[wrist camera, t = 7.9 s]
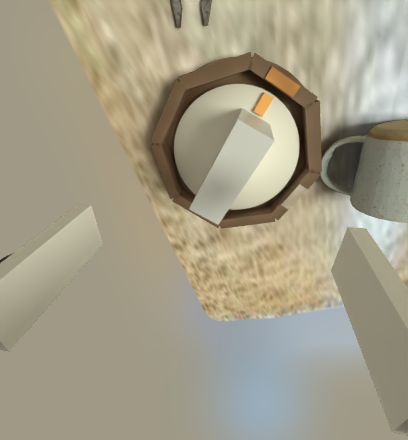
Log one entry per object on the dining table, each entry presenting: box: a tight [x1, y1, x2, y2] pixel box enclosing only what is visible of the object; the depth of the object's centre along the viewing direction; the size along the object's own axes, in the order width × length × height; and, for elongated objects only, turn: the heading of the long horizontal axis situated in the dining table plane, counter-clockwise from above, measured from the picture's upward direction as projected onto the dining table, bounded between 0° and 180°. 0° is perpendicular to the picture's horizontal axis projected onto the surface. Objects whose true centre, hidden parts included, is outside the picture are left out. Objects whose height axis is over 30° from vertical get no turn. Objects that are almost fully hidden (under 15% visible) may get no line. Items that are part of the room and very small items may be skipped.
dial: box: [174, 84, 300, 225], centre depth 23 cm, size 14×14×8 cm
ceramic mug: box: [319, 120, 408, 223], centre depth 23 cm, size 11×8×8 cm
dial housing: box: [150, 52, 322, 228], centre depth 26 cm, size 18×18×4 cm
